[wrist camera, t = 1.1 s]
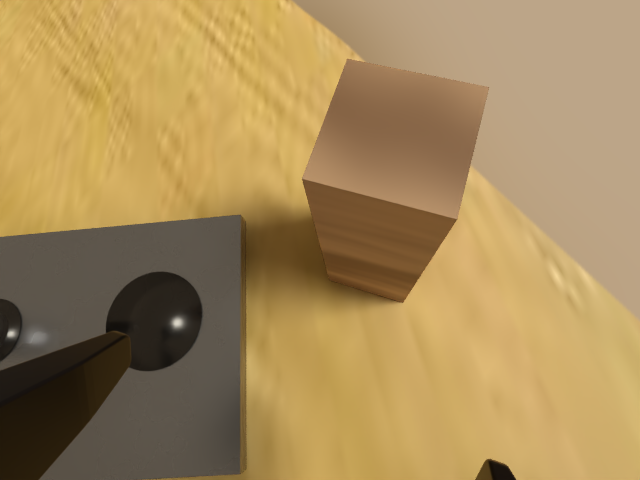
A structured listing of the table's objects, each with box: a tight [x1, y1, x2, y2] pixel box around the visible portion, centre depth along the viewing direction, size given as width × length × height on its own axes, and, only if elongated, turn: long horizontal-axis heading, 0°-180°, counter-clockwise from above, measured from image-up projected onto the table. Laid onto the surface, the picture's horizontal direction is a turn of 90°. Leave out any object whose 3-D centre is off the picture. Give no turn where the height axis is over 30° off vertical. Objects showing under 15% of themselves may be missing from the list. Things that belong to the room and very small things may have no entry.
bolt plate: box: [0, 215, 246, 480], centre depth 21 cm, size 14×18×5 cm
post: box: [302, 59, 489, 302], centre depth 18 cm, size 4×4×13 cm
